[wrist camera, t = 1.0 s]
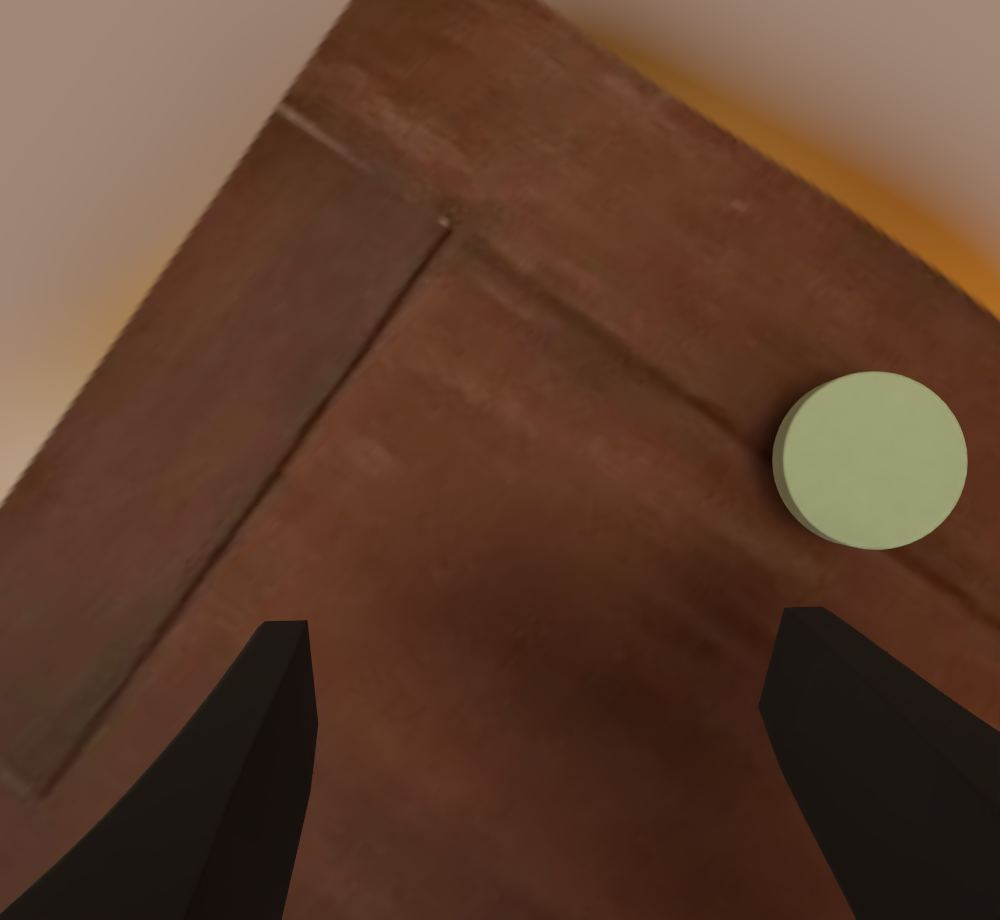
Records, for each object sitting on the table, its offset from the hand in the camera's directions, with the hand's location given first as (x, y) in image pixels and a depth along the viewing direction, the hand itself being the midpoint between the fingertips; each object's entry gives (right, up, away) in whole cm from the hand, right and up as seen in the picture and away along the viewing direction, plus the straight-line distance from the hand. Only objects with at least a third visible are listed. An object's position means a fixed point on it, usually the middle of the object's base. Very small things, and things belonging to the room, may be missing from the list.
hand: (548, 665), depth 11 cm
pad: (+10, +3, +14) cm, 18 cm away
